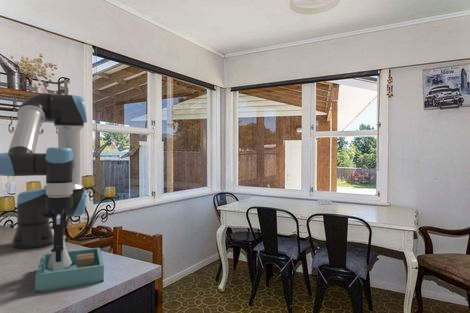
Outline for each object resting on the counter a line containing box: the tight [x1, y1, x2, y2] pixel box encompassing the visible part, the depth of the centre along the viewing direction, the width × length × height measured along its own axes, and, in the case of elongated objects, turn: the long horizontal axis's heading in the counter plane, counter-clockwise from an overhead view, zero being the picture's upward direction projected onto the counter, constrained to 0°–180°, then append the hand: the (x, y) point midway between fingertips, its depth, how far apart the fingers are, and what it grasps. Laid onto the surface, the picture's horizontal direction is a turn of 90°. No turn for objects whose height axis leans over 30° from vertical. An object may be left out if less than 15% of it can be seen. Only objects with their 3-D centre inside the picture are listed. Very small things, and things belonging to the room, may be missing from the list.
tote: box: [34, 247, 105, 293], centre depth 103 cm, size 20×18×5 cm
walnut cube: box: [77, 253, 94, 268], centre depth 104 cm, size 5×5×5 cm
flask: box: [46, 235, 73, 271], centre depth 101 cm, size 7×7×10 cm
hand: (59, 266), depth 101 cm, fingers closed on flask, 8 cm apart
